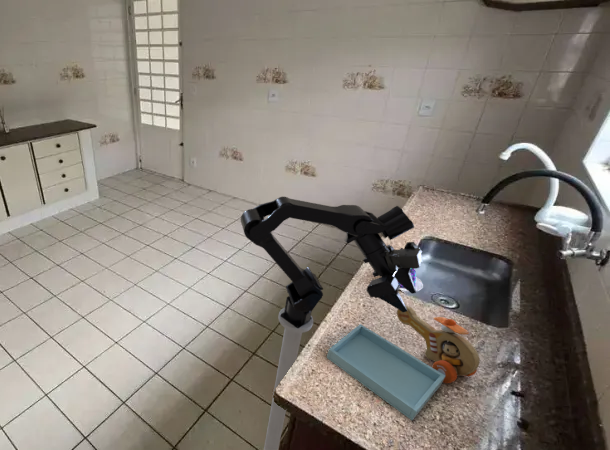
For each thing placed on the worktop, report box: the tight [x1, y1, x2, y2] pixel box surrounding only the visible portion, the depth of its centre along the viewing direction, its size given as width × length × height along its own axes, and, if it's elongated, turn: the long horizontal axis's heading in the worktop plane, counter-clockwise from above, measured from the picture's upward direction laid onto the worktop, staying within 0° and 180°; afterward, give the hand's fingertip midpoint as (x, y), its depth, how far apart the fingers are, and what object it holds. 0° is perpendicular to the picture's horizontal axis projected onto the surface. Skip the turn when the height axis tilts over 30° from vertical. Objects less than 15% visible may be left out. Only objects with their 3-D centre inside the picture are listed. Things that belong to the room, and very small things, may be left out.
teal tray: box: [326, 323, 445, 421], centre depth 84 cm, size 21×15×3 cm
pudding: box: [398, 268, 424, 292], centre depth 114 cm, size 12×12×5 cm
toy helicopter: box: [396, 305, 481, 384], centre depth 86 cm, size 8×21×14 cm, turn 17°
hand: (409, 301), depth 87 cm, fingers open, 9 cm apart
